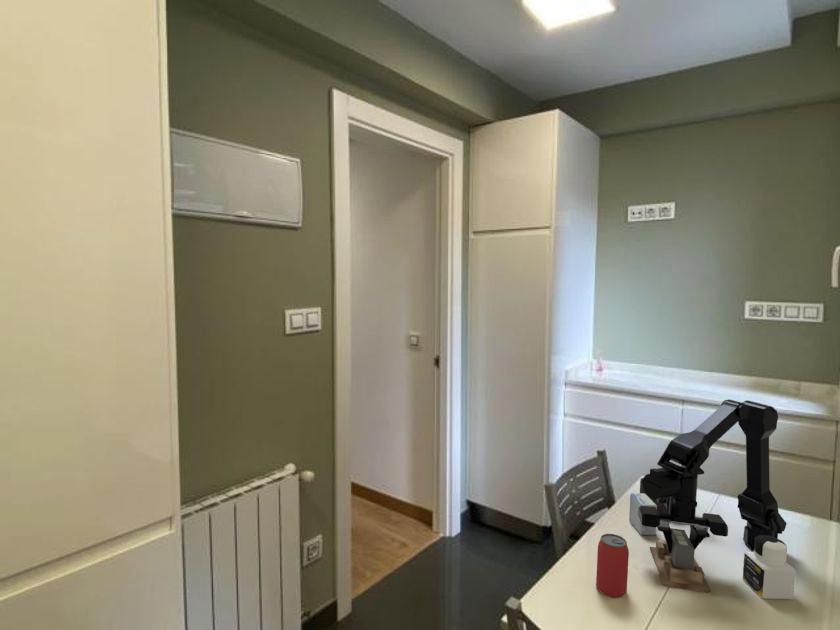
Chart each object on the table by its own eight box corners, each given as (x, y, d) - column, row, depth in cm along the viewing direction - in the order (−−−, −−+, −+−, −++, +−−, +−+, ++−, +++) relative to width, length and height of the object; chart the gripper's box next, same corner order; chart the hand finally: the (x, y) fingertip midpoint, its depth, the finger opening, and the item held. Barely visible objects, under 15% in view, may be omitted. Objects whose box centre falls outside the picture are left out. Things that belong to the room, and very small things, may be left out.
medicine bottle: (741, 579, 118) (745, 531, 117) (772, 580, 118) (776, 532, 116) (761, 599, 111) (765, 547, 110) (794, 600, 110) (798, 548, 109)
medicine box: (656, 535, 137) (657, 505, 136) (639, 535, 137) (641, 505, 136) (643, 521, 145) (645, 493, 144) (628, 521, 145) (630, 492, 144)
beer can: (623, 603, 109) (626, 551, 108) (592, 592, 112) (595, 542, 111) (629, 587, 114) (631, 537, 113) (599, 577, 118) (601, 529, 117)
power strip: (683, 548, 125) (684, 529, 125) (693, 569, 116) (694, 548, 116) (665, 546, 126) (667, 527, 126) (674, 566, 117) (675, 545, 117)
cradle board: (691, 554, 128) (692, 542, 128) (711, 593, 112) (712, 579, 112) (649, 548, 130) (650, 537, 130) (663, 585, 115) (664, 572, 115)
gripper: (715, 483, 125) (711, 542, 127) (635, 474, 130) (632, 531, 131) (730, 502, 114) (726, 567, 116) (643, 492, 119) (640, 554, 120)
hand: (679, 553), depth 121 cm, fingers closed on power strip, 4 cm apart
